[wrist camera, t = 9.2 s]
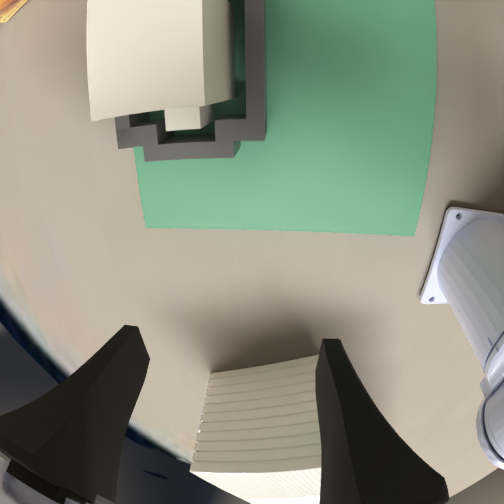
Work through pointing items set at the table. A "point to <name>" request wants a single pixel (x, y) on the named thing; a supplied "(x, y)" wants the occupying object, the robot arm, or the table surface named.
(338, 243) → the table surface
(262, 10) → the socket
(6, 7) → the candy box
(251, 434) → the stack of papers
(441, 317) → the table surface
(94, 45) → the plug
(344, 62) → the green mat
